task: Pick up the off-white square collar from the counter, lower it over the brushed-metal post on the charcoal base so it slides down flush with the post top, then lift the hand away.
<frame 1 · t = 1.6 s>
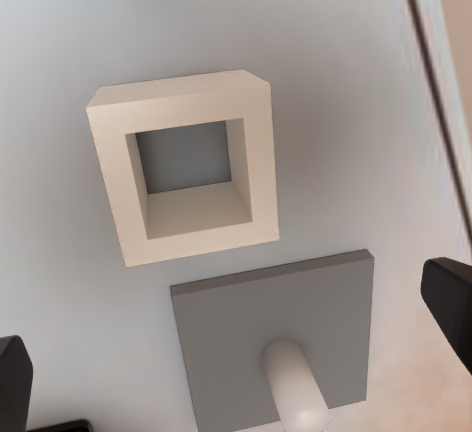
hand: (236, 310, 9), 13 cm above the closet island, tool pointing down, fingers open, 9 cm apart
post stand: (276, 344, 27), on the closet island
collar: (183, 146, 21), on the closet island
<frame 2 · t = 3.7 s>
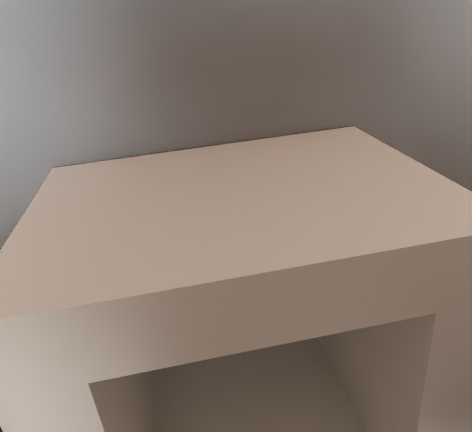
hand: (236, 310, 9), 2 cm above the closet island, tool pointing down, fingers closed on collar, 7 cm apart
collar: (224, 272, 11), on the closet island, touching gripper
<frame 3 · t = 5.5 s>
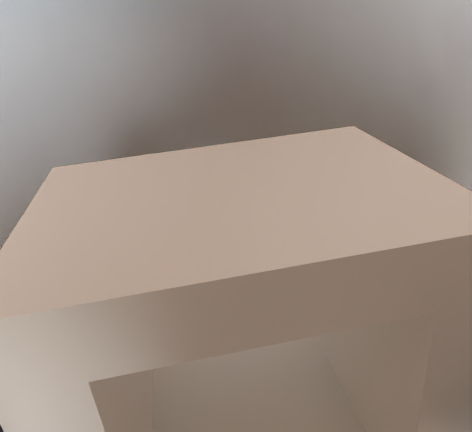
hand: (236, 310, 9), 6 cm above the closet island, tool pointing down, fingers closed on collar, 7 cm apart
collar: (224, 271, 11), point 4 cm above the closet island, touching gripper
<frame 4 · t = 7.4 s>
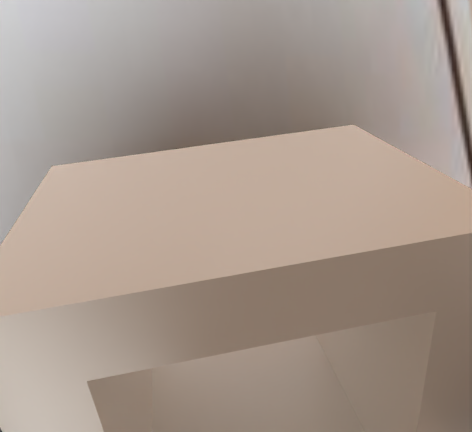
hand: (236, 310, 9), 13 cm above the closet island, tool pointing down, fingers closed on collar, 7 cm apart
collar: (224, 271, 11), point 11 cm above the closet island, touching gripper
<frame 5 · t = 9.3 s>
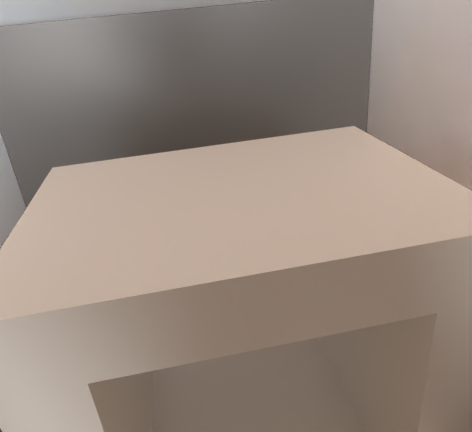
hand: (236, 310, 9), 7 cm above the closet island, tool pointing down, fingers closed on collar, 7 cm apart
post stand: (203, 185, 16), on the closet island
collar: (225, 272, 11), point 6 cm above the closet island, touching gripper
when the fingers open (5 cm above the closet island, at t = 11.0 s): collar drops 3 cm, resting on post stand.
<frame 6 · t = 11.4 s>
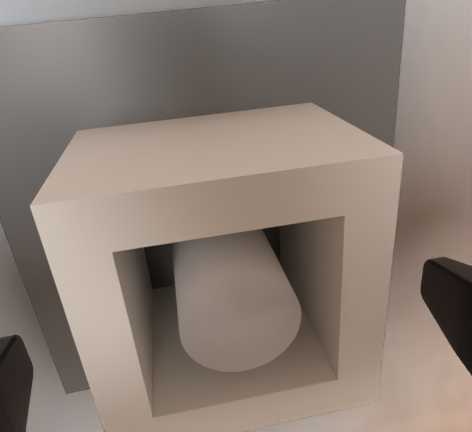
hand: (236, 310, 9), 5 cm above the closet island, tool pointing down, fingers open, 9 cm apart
post stand: (207, 207, 14), on the closet island
collar: (211, 220, 13), point 1 cm above the closet island, touching post stand
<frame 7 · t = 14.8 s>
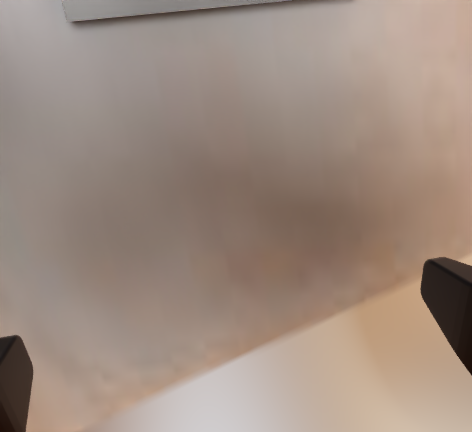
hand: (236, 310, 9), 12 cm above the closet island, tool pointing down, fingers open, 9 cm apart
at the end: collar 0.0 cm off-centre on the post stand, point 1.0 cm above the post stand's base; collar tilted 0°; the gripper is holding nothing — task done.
